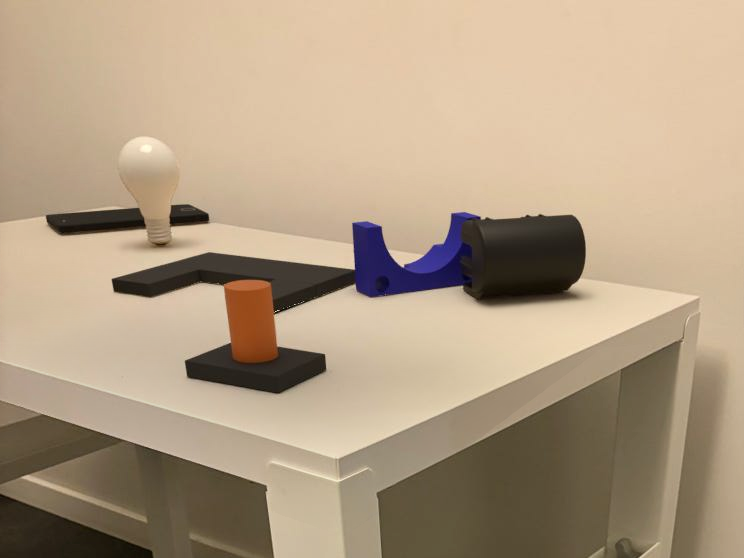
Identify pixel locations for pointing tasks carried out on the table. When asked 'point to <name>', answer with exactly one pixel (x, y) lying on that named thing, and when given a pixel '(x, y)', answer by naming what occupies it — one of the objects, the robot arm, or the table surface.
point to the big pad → (238, 277)
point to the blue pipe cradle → (428, 272)
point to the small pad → (257, 372)
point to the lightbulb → (151, 183)
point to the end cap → (522, 255)
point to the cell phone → (119, 219)
